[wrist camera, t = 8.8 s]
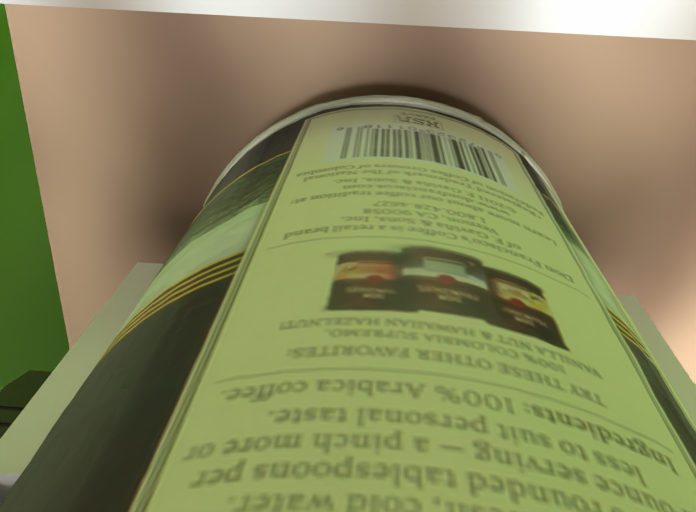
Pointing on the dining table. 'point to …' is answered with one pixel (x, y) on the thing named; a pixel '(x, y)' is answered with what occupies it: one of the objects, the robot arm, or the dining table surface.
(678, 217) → the shelf board
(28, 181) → the dining table surface
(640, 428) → the coffee can
